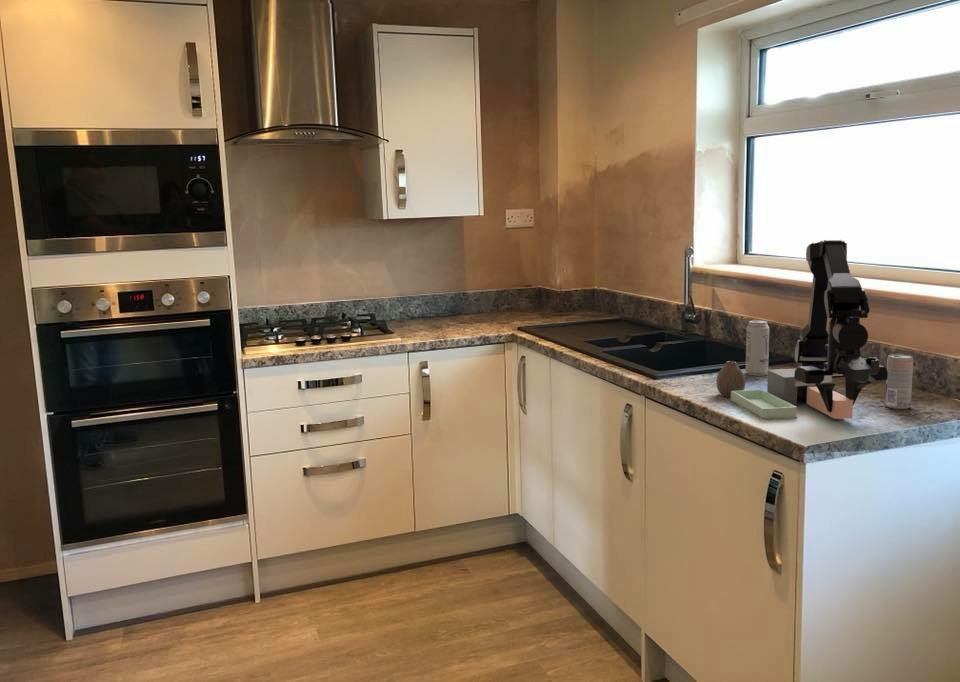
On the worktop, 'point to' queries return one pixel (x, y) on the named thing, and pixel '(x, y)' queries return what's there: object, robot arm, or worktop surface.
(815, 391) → the pink square pillar
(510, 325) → the worktop surface
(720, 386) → the vase
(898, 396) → the energy drink
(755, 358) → the energy drink can
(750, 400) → the tray
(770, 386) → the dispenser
